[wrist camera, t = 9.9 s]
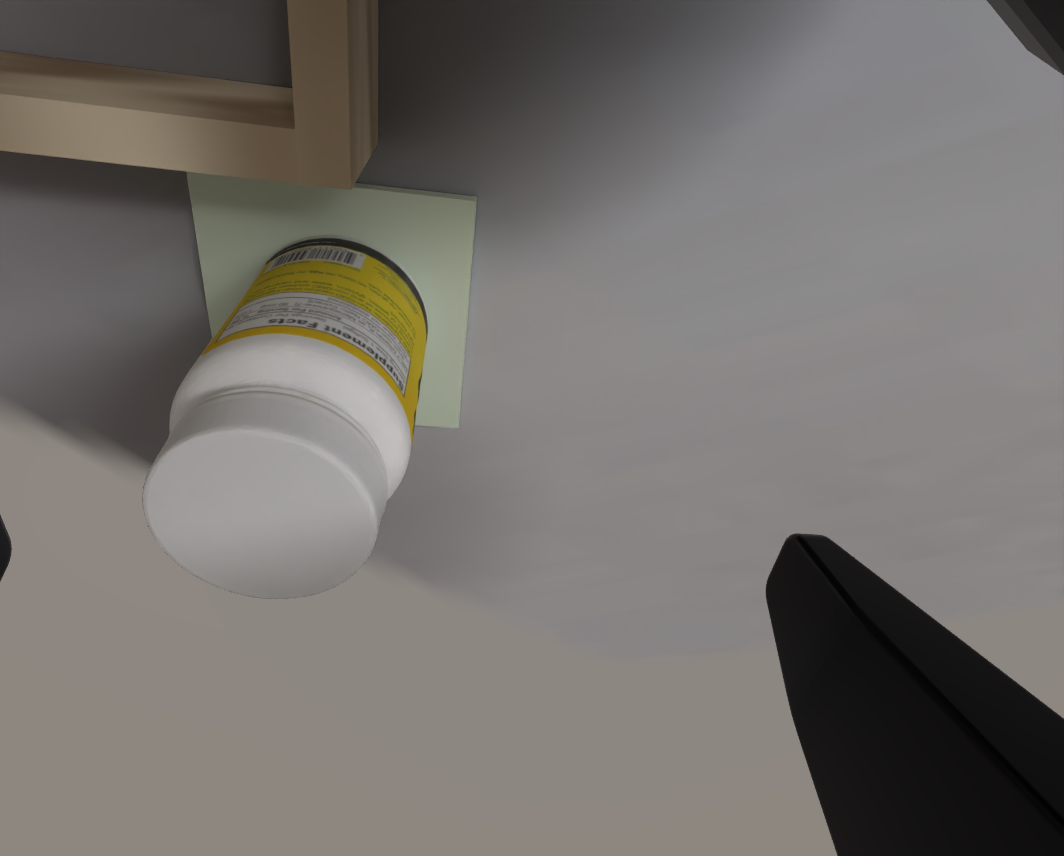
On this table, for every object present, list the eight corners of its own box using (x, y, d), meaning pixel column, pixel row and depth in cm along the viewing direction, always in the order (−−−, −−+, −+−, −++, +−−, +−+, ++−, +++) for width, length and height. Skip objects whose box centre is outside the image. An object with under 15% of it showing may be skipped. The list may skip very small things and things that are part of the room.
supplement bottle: (357, 416, 21) (291, 648, 14) (219, 315, 19) (58, 530, 12) (466, 314, 19) (453, 521, 12) (326, 190, 17) (213, 354, 10)
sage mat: (477, 196, 18) (476, 201, 17) (458, 421, 21) (458, 428, 21) (191, 164, 17) (186, 168, 16) (226, 403, 21) (222, 410, 20)
